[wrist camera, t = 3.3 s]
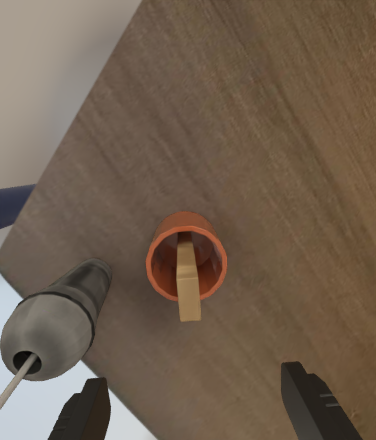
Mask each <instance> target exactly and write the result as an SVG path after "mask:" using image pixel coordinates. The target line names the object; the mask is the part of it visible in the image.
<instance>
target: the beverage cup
mask: <svg viewBox="0 0 376 440" xmlns="http://www.w3.org/2000/svg"><path fill="white" fill-rule="evenodd" d="M111 279H112V271H111V269H110V267H109V266H108V265H107V263H105V262H104V261H102V260H100V259H96V258H91V259H88V260H85V261H84V262H82V263H80V264H79V265H77V266H76V267H75V268H73V269H72V270H70V271H69V272H68V273H66V274H65V275H64V276H62V277H61V278H59V279H58V280H57V281H55V282H54V283H53V284H51V285H50V286H49V287H47V288H44V289H42V290H40V291H38V292H36V293H35V294H32V295H29V296H28V297H27V298H25V299H24V300H22V301H21V302H20V303H19V304H18V306H17V307H16V309H15V310H14V311H13V313H12V315H11V316H10V318H9V319H8V321H7V322H6V324H5V325H4V328H3V331H2V335H1V340H0V350H1V355H2V360H3V362H4V364H5V365H6V367H7V368H8V370H10V371H11V372H12V373H13V374H14V375H15V377H14V378H13V380H12V381H11V382H10V384H9V385H8V386H7V388H6V389H5V390H4V392H3V393H2V394H1V396H0V409H1V408H2V407H3V405H4V404H5V402H6V401H7V399H8V398H9V397H10V395H11V394H12V392H13V391H14V390H15V388H16V387H17V385H18V384H19V382H20V381H21V380H22V379H25V380H30V381H45V380H49V379H52V378H55V377H58V376H60V375H62V374H63V373H65V372H66V371H68V370H69V369H71V368H72V367H73V366H75V365H76V364H77V362H78V361H79V360H80V359H81V358H82V357H83V356H84V355H85V353H86V352H87V351H88V349H89V348H90V347H91V345H92V343H93V339H94V336H95V328H96V323H97V318H98V315H99V313H100V310H101V307H102V305H103V302H104V299H105V297H106V294H107V291H108V289H109V286H110V282H111Z"/></svg>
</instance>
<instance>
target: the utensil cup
mask: <svg viewBox="0 0 376 440" xmlns="http://www.w3.org/2000/svg"><path fill="white" fill-rule="evenodd" d="M183 231H191V236H192V242H193V248H194V254H195V260H196V267H197V273H198V281H199V295H200V300H202V299H204V298H206V297H208V296H210V295H212V294H213V293H214V292H215V291H216V290H217V289H218V287H219V286H220V285H221V284H222V282H223V280H224V277H225V275H226V272H227V255H226V252H225V250H224V248H223V246H222V244H221V242H220V240H219V238H218V236H217V235H216V233H215V231H214V229H213V227H212V225H211V223H209V221H208V220H207V219H205V218H204V217H203V216H201V215H199V214H197V213H194V212H188V211H183V212H177V213H174V214H171V215H170V216H168V217H166V218H165V219H164V220H163V221H162V222H161V223H160V224H159V226H158V227H157V229H156V231H155V234H154V237H153V240H152V243H151V245H150V248H149V252H148V255H147V258H146V270H147V277H148V279H149V280H150V282H151V284H152V285H153V287H154V289H155V290H156V291H158V292H159V293H160V294H162V295H163V296H164V297H166V298H167V299H170V300H173V301H177V302H178V292H177V281H176V277H177V244H178V232H183Z"/></svg>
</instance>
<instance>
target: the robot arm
mask: <svg viewBox="0 0 376 440" xmlns="http://www.w3.org/2000/svg"><path fill="white" fill-rule="evenodd" d="M281 393H282V399H283V403H284V406H285V408H286V411H287V413H288V415H289V418H290V420H291V422H292V425H293V427H294V429H295V432H296V434H297V436H298V439H299V440H363V439H362V438H361V436H360V435H359V433H358V432H357V430H356V429H355V427H354V426H353V424H352V423H351V421H350V420H349V418H348V417H347V415H346V414H345V412H344V411H343V409H342V408H341V406H339V403H338V401H337V400H336V398H335V397H334V396H333V394H332V392H331V391H330V389H329V388H328V386H327V385H326V383H325V382H324V381H323V380H321V379H320V378H319V377H318V376H317V375H315V374H314V373H313V374H307V373H306V371H305V369H304V368H303V366H302V364H301V363H300V362H299V361H296V362H285V363H282V364H281ZM110 413H111V405H110V399H109V393H108V387H107V381H106V378H105V377H103V378H91V379H87V381H86V383H85V385H84V387H83V390H82V392H81V393H75V394H74V395H73V396H72V397H71V398H70V399H69V400H68V401H67V402H66V403H65V405H64V407H63V409H62V411H61V413H60V415H59V418H58V420H57V421H56V423H55V426H54V427H53V431H52V432H51V434H50V436H49V438H48V440H104V439H105V435H106V431H107V428H108V424H109V421H110Z"/></svg>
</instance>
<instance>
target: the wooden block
mask: <svg viewBox="0 0 376 440" xmlns="http://www.w3.org/2000/svg"><path fill="white" fill-rule="evenodd" d="M176 281H177V292H178V303H179V314H180V321H181V322H184V321H196V320H201V309H200V295H199V281H198V273H197V267H196V260H195V254H194V248H193V242H192V236H191V231H183V232H178V244H177V277H176Z"/></svg>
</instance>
